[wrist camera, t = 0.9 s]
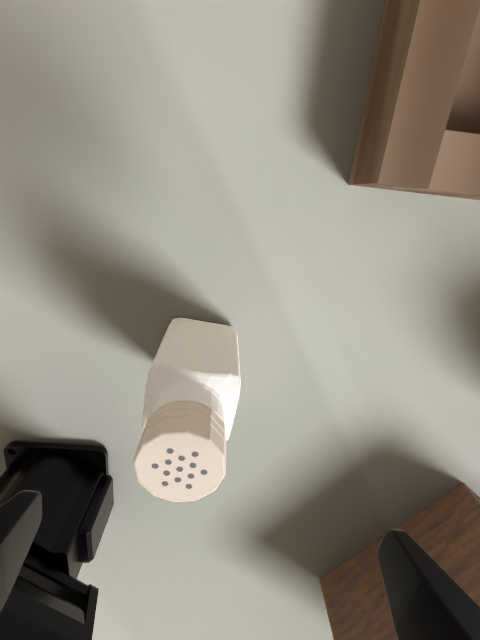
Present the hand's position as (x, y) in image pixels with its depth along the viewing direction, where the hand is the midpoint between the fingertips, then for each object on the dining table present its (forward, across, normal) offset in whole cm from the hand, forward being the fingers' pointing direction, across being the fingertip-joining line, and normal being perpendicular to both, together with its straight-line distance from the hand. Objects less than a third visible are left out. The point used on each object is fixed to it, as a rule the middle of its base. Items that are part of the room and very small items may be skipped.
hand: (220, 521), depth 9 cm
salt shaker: (+12, +1, +1) cm, 13 cm away
